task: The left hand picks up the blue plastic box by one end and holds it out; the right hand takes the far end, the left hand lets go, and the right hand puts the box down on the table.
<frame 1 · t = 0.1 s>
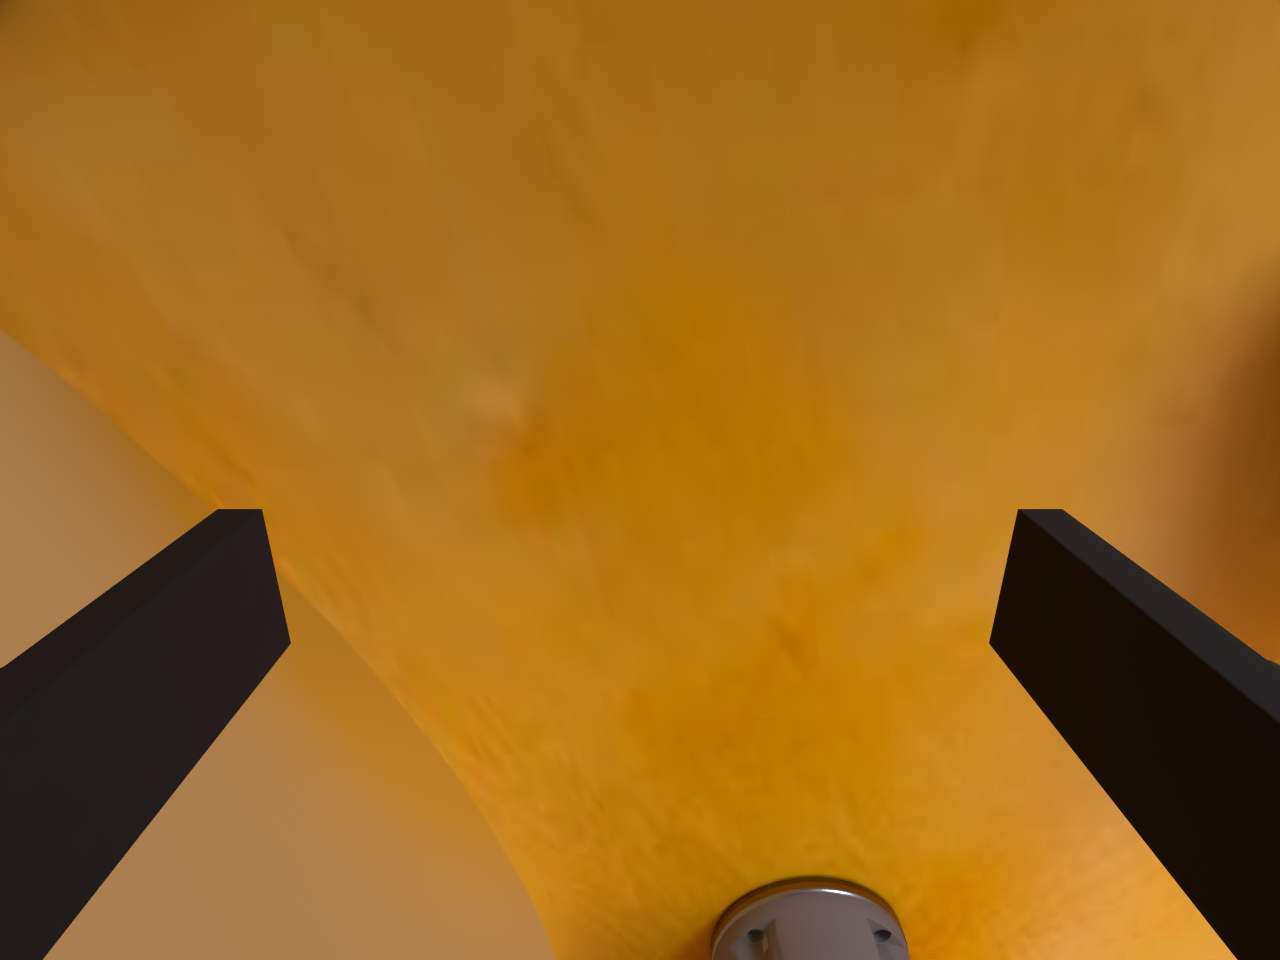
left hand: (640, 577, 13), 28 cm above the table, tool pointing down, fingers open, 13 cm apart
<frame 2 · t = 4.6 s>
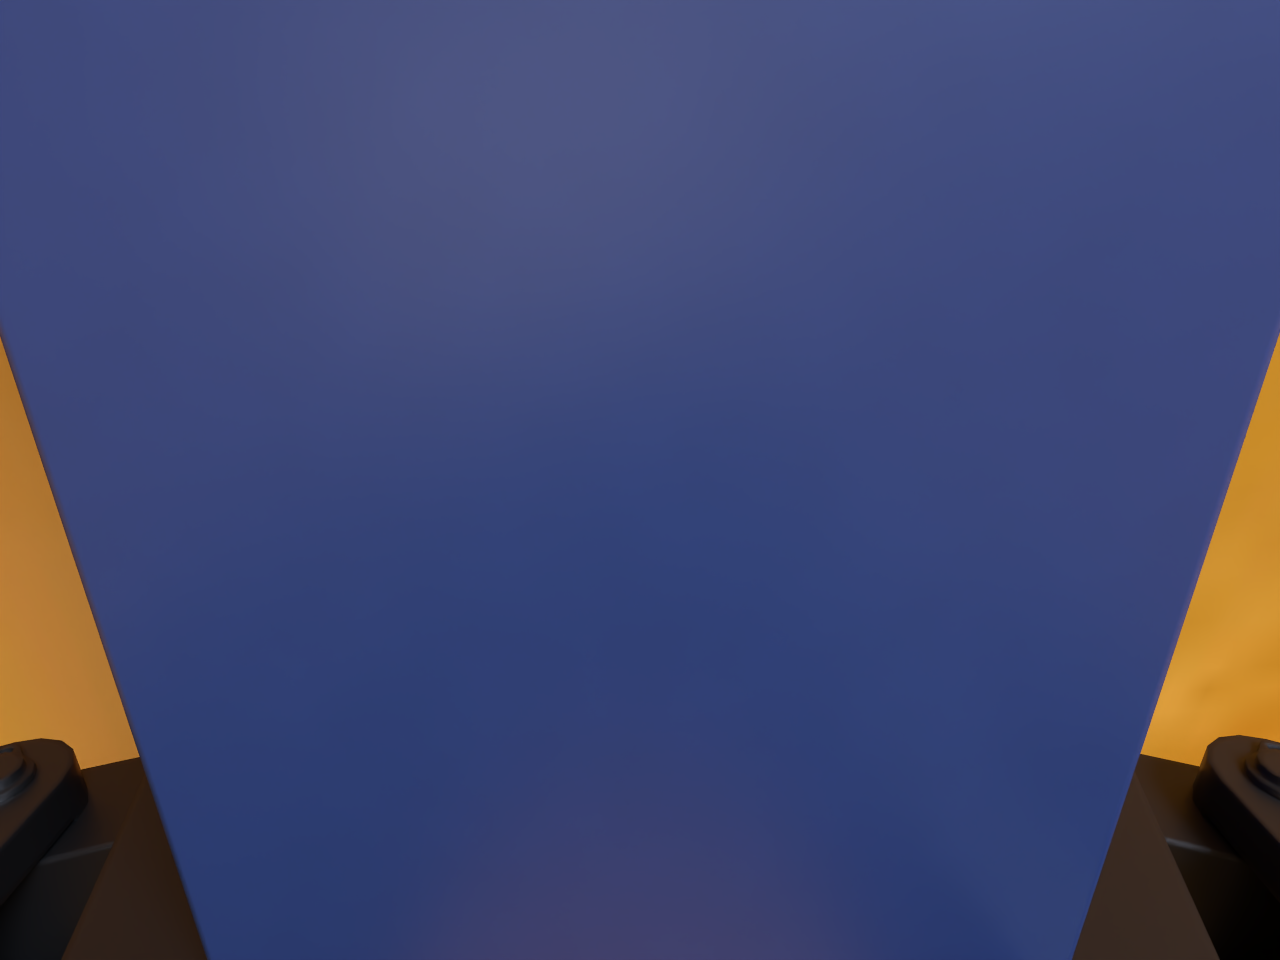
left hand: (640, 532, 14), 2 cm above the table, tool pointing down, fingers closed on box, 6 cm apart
box: (639, 59, 13), on the table, touching left hand
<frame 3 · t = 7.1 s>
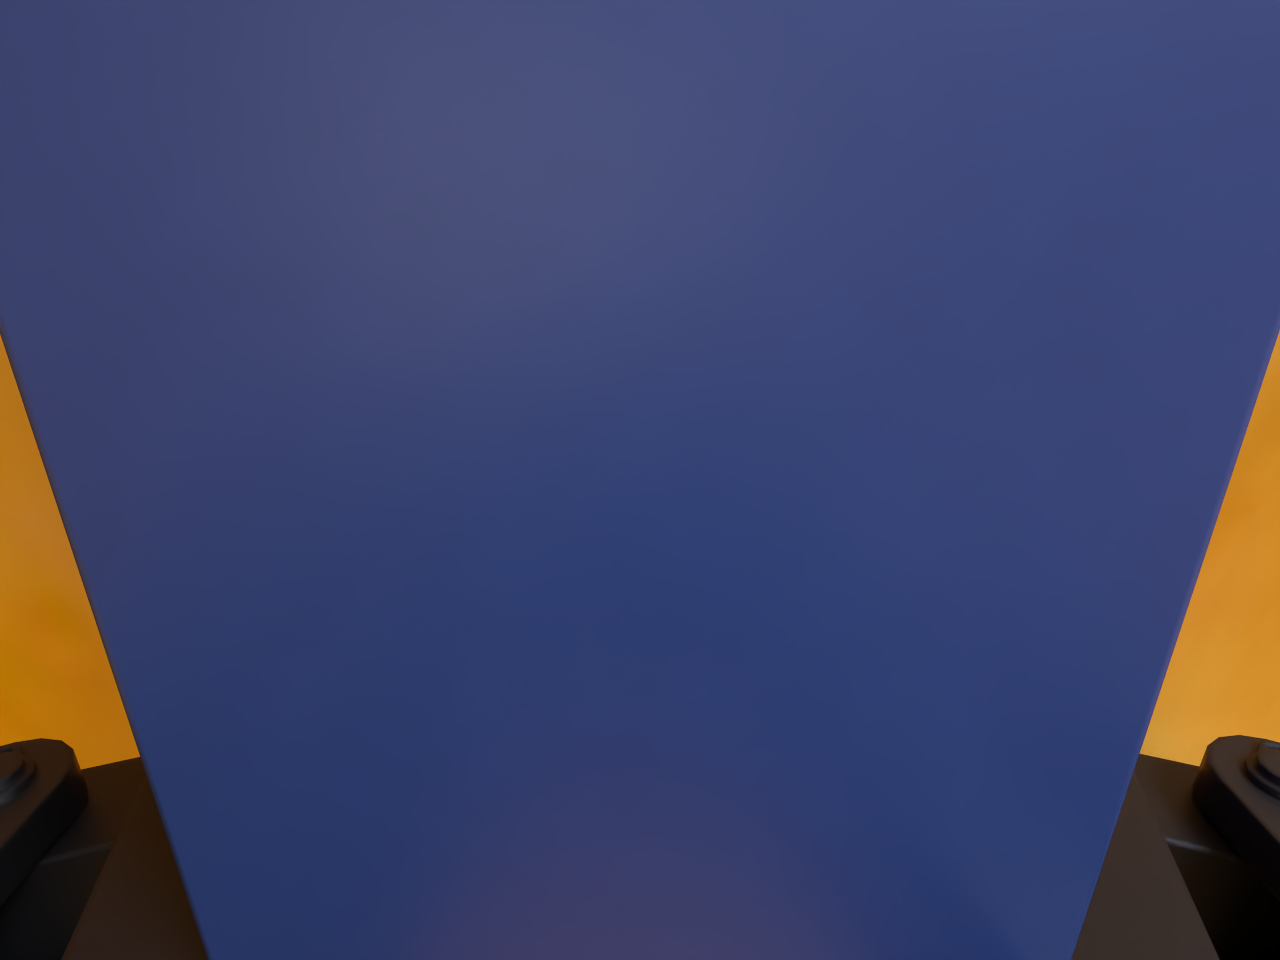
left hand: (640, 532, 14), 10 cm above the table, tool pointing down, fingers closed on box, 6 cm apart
box: (639, 59, 13), point 9 cm above the table, touching left hand
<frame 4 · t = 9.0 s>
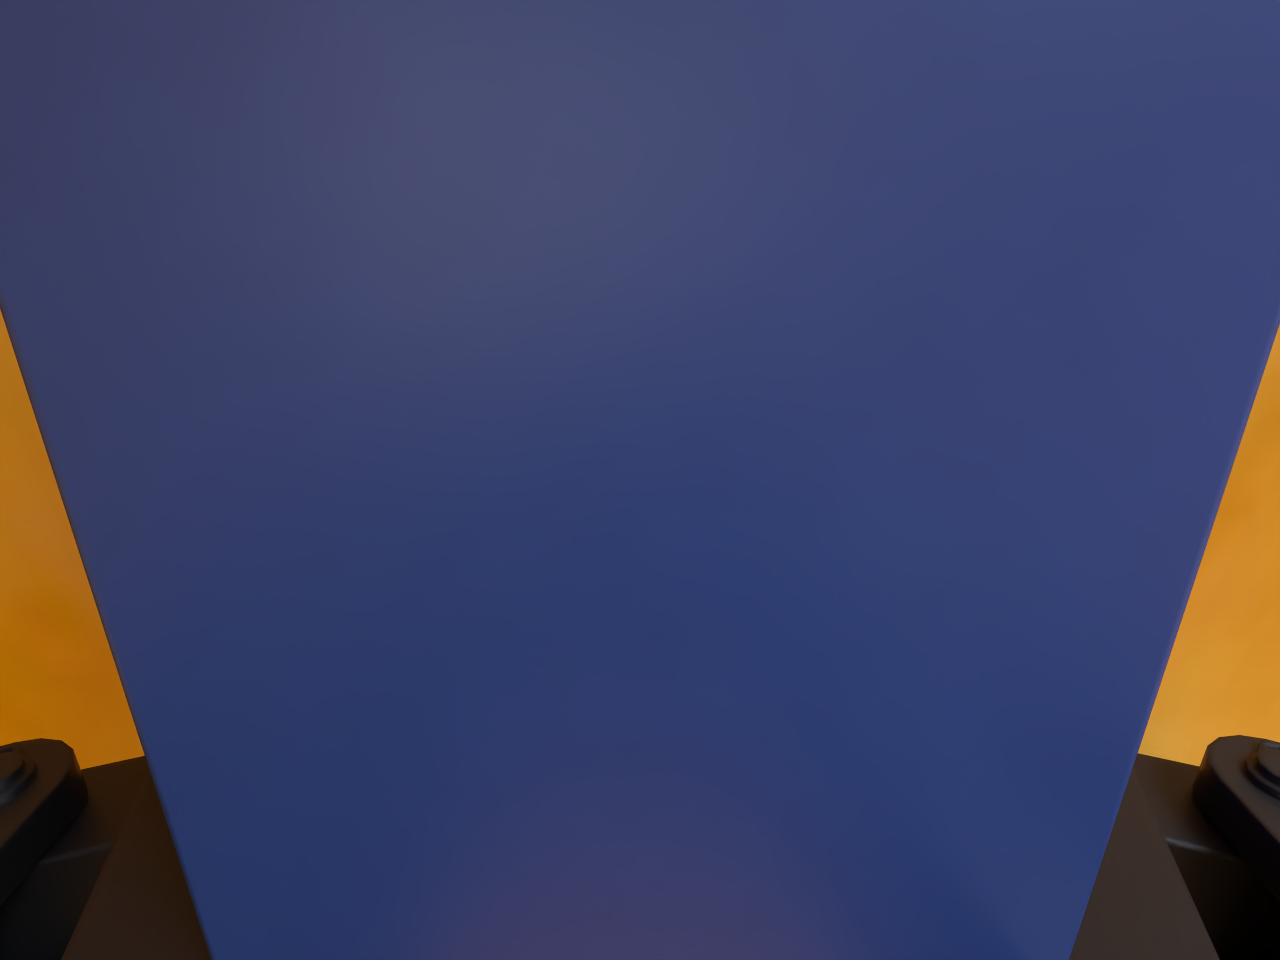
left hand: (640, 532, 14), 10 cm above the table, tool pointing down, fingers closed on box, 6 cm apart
box: (640, 60, 13), point 9 cm above the table, touching left hand, right hand
when the left hand's fingers open (10 cm above the table, at t = 9.9 s): box stays where it is, held by the right hand.
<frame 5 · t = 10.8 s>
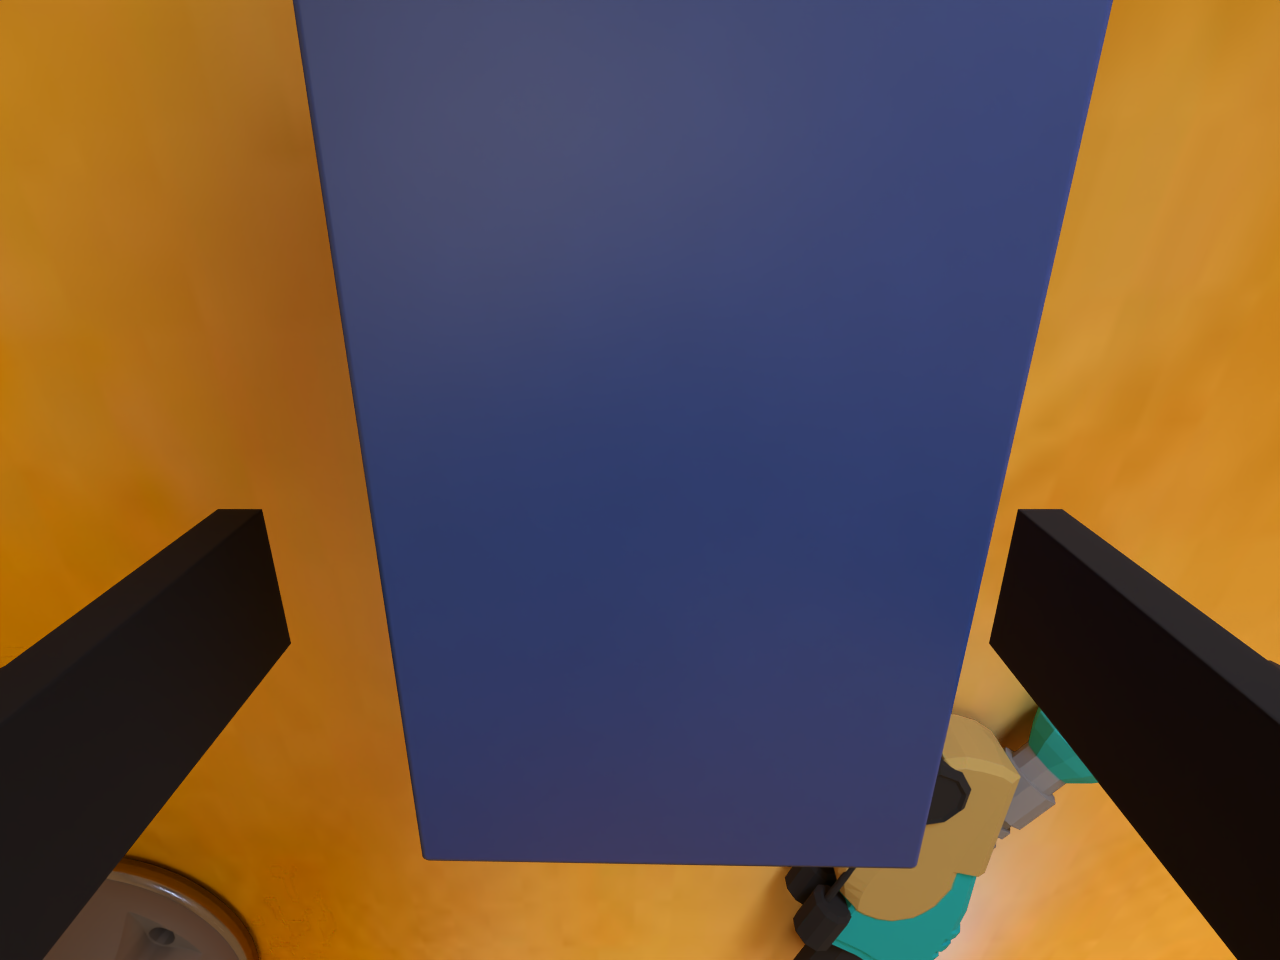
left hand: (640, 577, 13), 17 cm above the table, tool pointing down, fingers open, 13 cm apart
toy gun 2: (858, 796, 37), on the table
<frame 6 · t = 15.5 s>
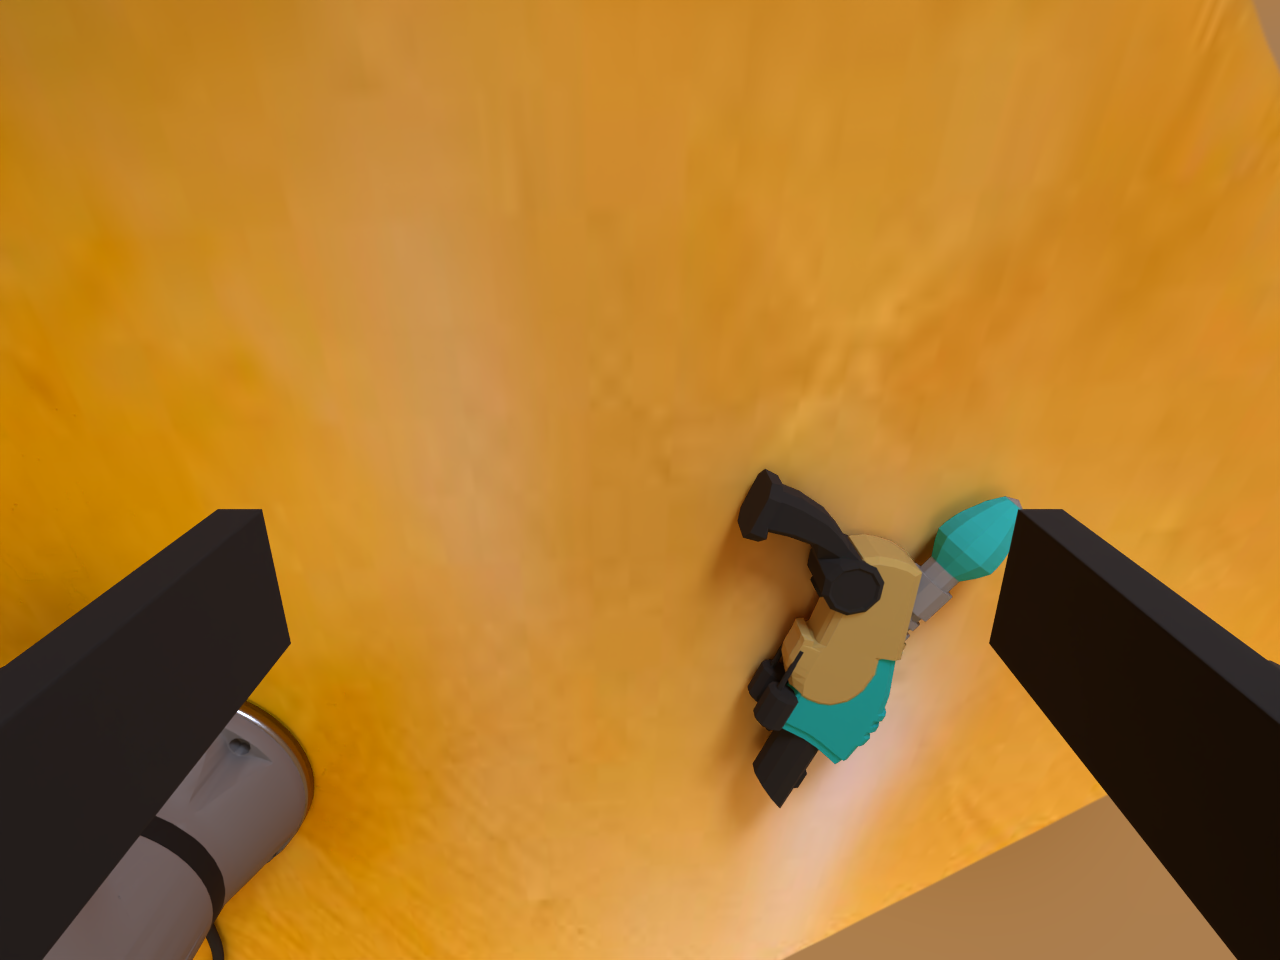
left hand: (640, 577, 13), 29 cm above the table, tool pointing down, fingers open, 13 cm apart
toy gun 2: (804, 616, 46), on the table
when the right hand's fingers open (8 cm above the table, at t = 22.5 s): box drops 1 cm, on the table.
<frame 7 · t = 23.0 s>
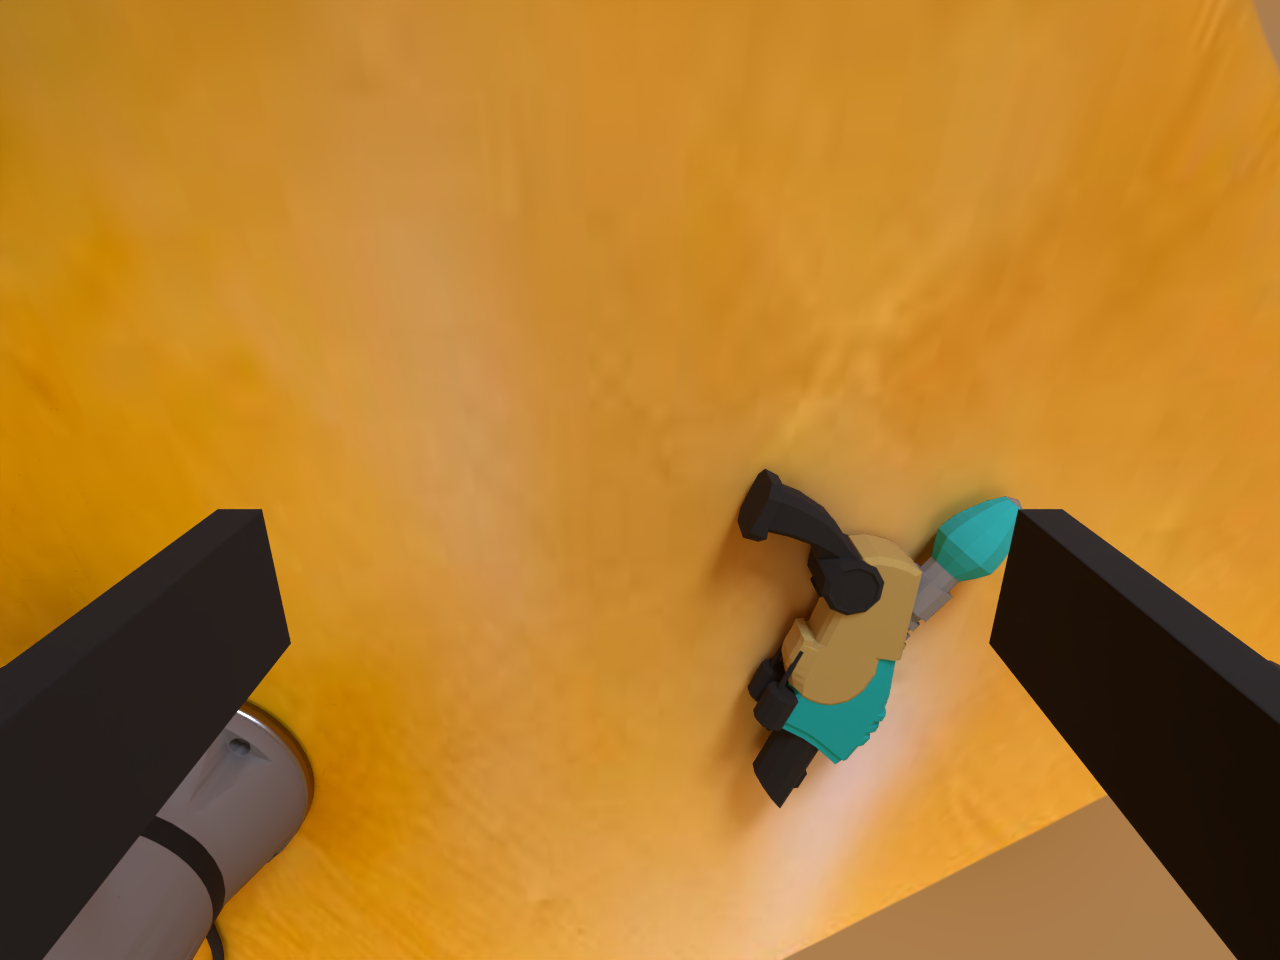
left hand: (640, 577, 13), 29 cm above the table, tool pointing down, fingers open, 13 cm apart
toy gun 2: (804, 616, 46), on the table
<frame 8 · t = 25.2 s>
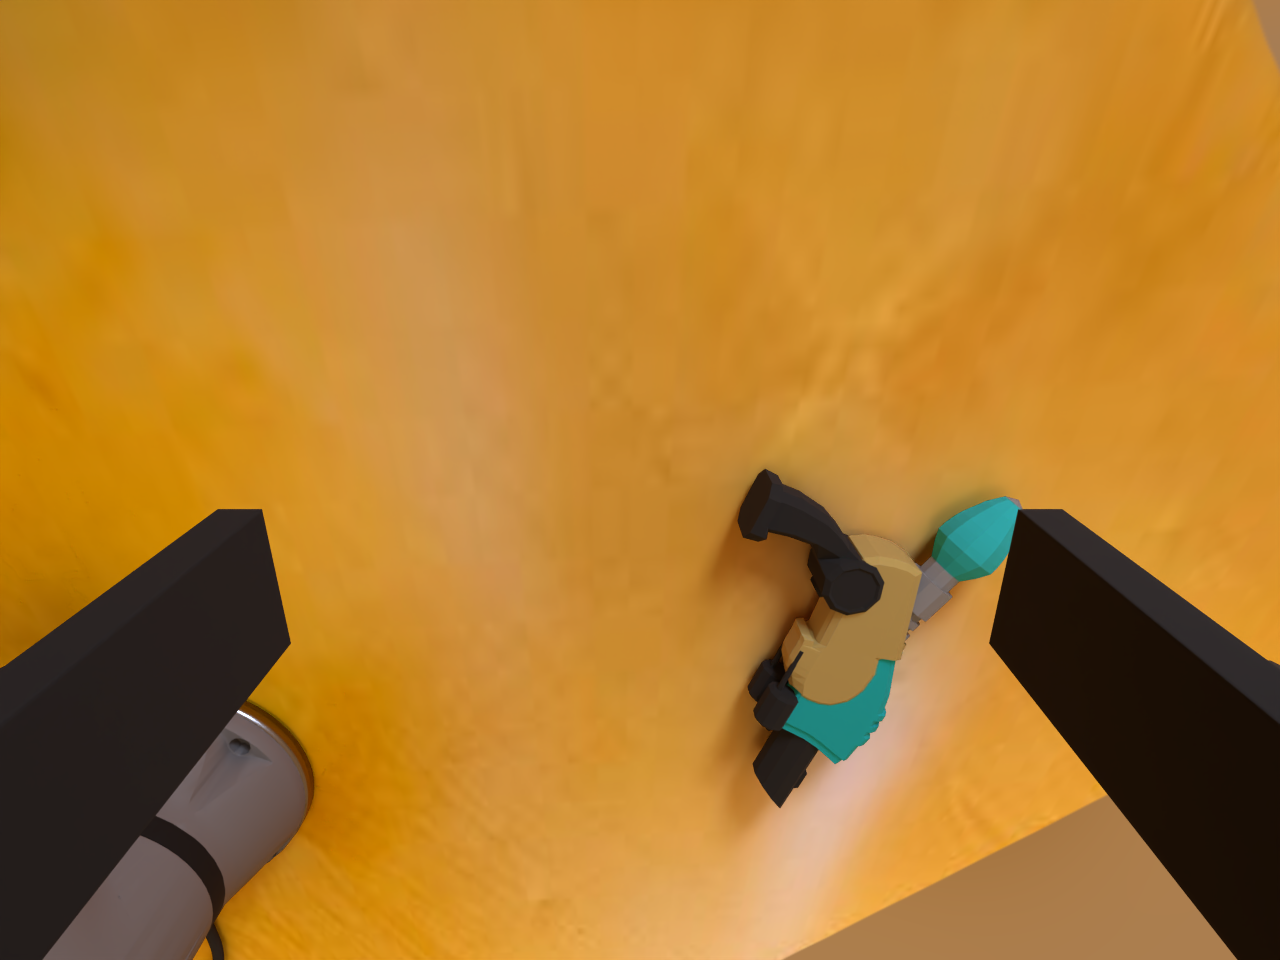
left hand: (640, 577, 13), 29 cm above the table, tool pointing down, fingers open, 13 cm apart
toy gun 2: (804, 616, 46), on the table
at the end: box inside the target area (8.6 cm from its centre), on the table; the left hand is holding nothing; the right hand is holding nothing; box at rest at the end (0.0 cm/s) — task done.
